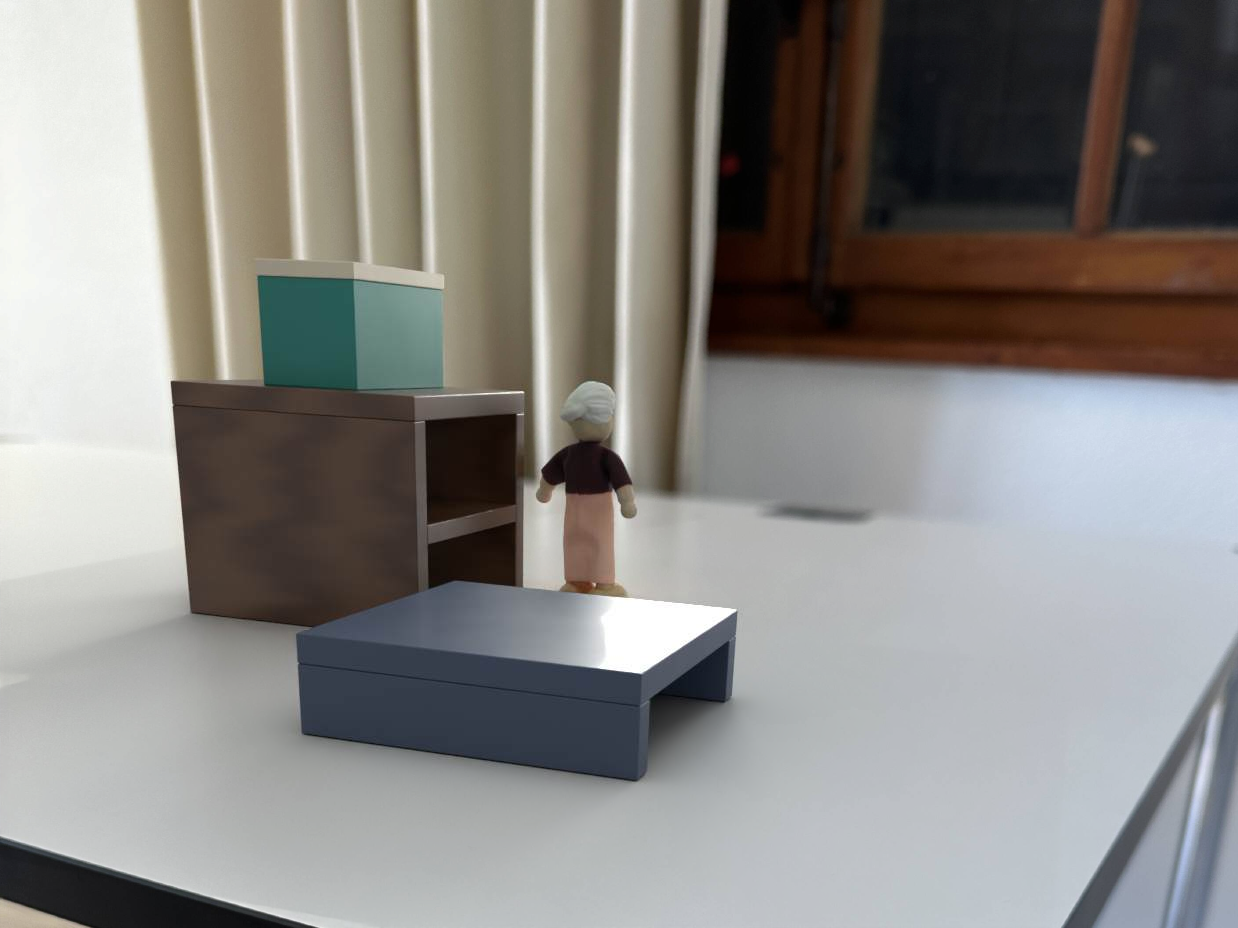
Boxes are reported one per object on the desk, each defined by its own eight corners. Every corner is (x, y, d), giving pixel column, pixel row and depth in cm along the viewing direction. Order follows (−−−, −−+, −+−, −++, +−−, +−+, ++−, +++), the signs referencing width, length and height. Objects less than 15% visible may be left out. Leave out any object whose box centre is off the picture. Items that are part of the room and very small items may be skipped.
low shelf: (301, 733, 52) (295, 632, 50) (455, 662, 64) (454, 580, 63) (637, 781, 48) (641, 673, 47) (732, 696, 61) (738, 609, 59)
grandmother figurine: (653, 597, 83) (662, 384, 79) (626, 606, 80) (634, 385, 75) (547, 583, 86) (550, 377, 81) (517, 592, 83) (518, 377, 78)
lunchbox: (260, 384, 69) (252, 258, 66) (358, 382, 78) (354, 271, 75) (358, 390, 67) (353, 261, 65) (446, 387, 76) (444, 274, 74)
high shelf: (190, 612, 72) (169, 380, 68) (323, 576, 85) (313, 378, 80) (419, 639, 69) (413, 396, 64) (523, 597, 81) (525, 391, 77)
